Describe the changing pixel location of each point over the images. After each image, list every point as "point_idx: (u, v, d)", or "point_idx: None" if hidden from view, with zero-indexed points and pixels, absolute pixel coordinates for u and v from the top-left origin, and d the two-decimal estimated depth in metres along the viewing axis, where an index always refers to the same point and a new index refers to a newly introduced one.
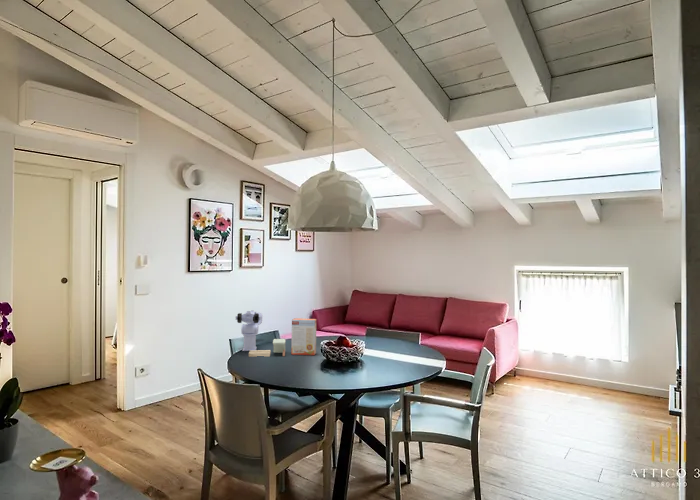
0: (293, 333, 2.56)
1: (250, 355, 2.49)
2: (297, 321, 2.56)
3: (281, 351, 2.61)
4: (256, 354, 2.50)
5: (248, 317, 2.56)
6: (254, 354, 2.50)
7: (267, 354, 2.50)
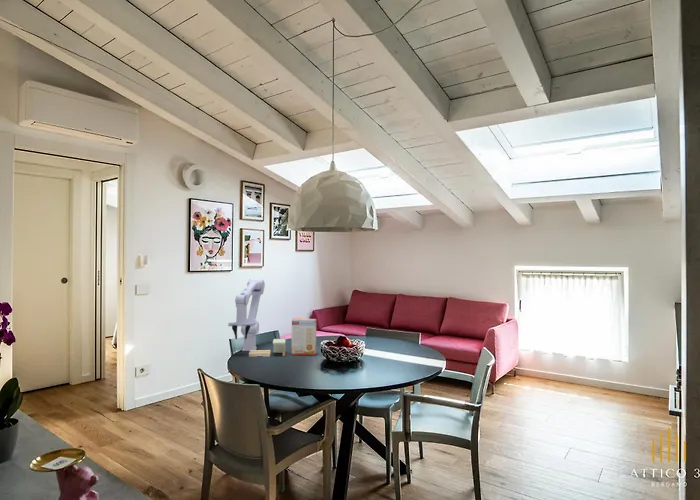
0: (293, 333, 2.56)
1: (250, 355, 2.49)
2: (297, 321, 2.56)
3: (281, 351, 2.61)
4: (256, 354, 2.50)
5: (241, 325, 2.53)
6: (254, 354, 2.50)
7: (267, 354, 2.51)
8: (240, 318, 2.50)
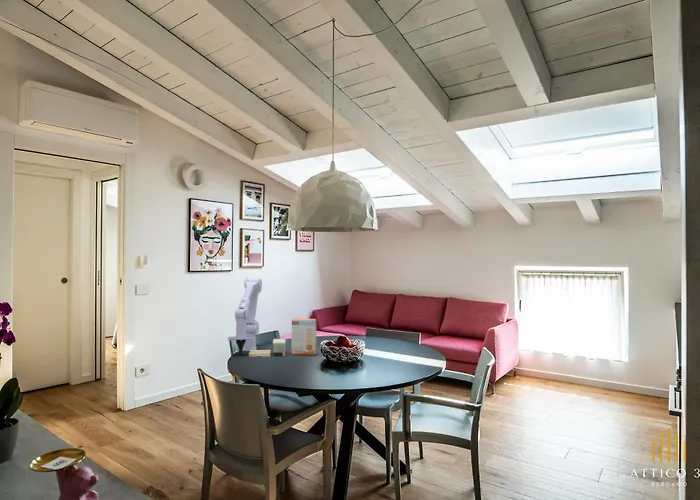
0: (293, 333, 2.56)
1: (250, 355, 2.49)
2: (297, 321, 2.56)
3: (281, 351, 2.61)
4: (256, 354, 2.50)
5: (241, 339, 2.52)
6: (254, 354, 2.50)
7: (267, 354, 2.51)
8: (240, 332, 2.50)
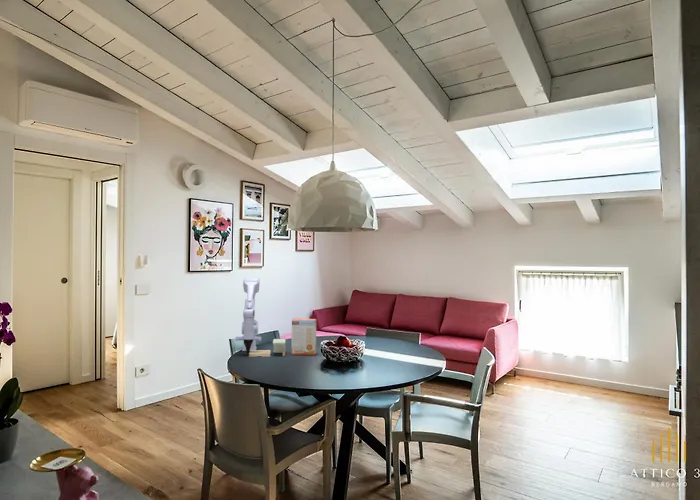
0: (293, 333, 2.56)
1: (250, 355, 2.49)
2: (297, 321, 2.56)
3: (281, 351, 2.61)
4: (256, 354, 2.50)
5: (248, 339, 2.53)
6: (254, 354, 2.50)
7: (267, 354, 2.51)
8: (247, 332, 2.50)
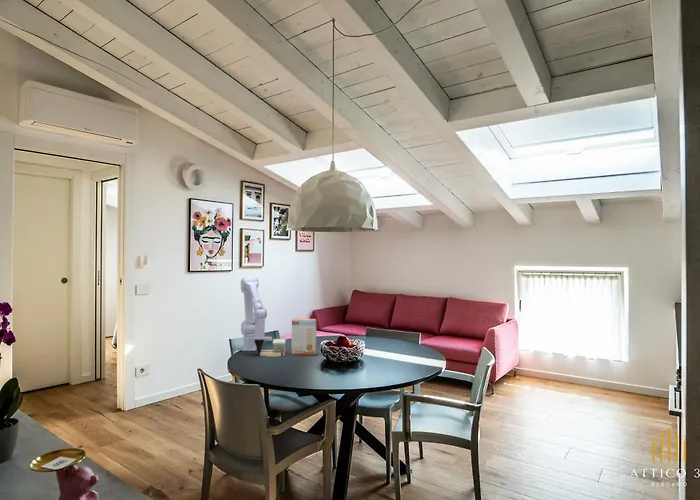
0: (293, 333, 2.56)
1: (261, 355, 2.50)
2: (297, 321, 2.56)
3: None
4: (267, 354, 2.50)
5: (259, 339, 2.54)
6: (265, 354, 2.50)
7: (278, 354, 2.51)
8: (259, 332, 2.51)
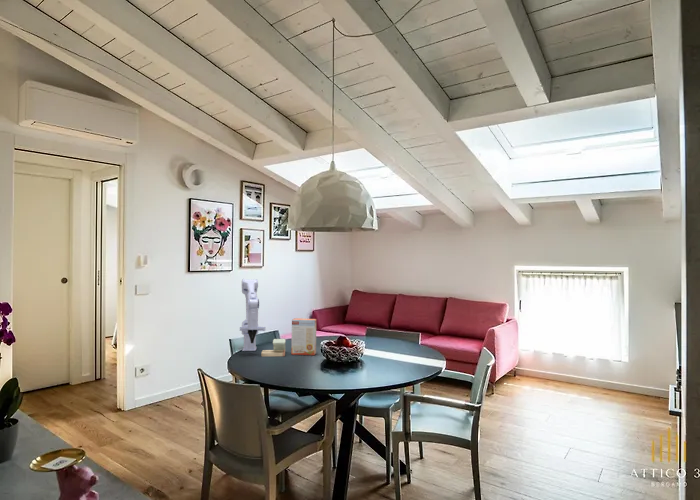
0: (293, 333, 2.56)
1: (263, 355, 2.50)
2: (297, 321, 2.56)
3: None
4: (269, 354, 2.51)
5: (252, 330, 2.53)
6: (267, 354, 2.51)
7: (280, 354, 2.51)
8: (252, 322, 2.51)
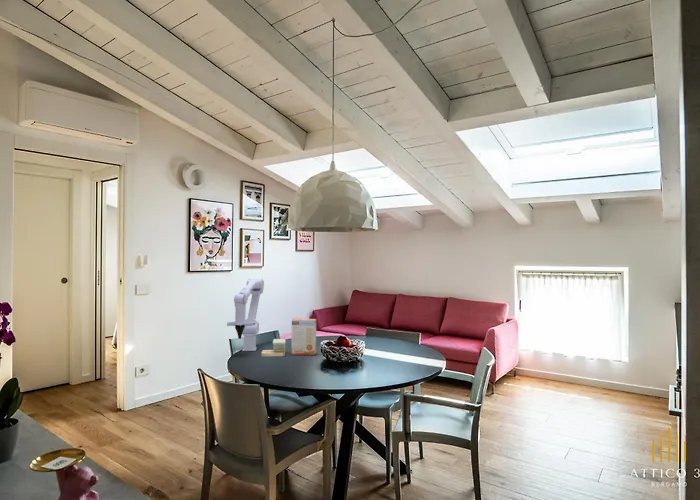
0: (293, 333, 2.56)
1: (263, 355, 2.50)
2: (297, 321, 2.56)
3: None
4: (269, 354, 2.51)
5: (240, 325, 2.51)
6: (267, 354, 2.51)
7: (280, 354, 2.51)
8: (239, 317, 2.49)
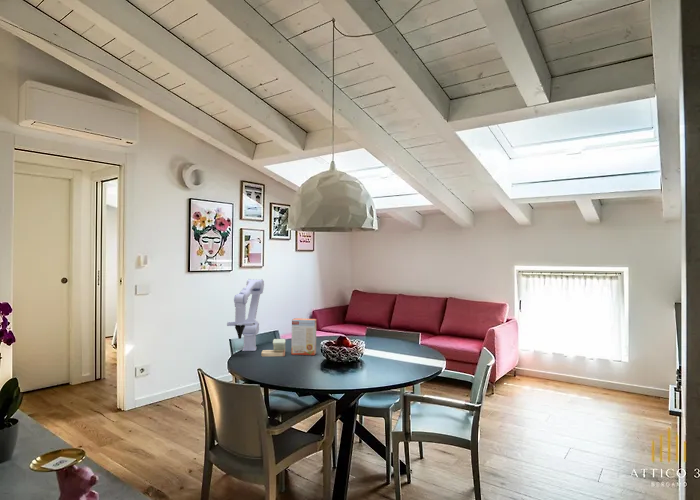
0: (293, 333, 2.56)
1: (263, 355, 2.50)
2: (297, 321, 2.56)
3: None
4: (269, 354, 2.51)
5: (240, 325, 2.51)
6: (267, 354, 2.51)
7: (280, 354, 2.51)
8: (239, 317, 2.49)
